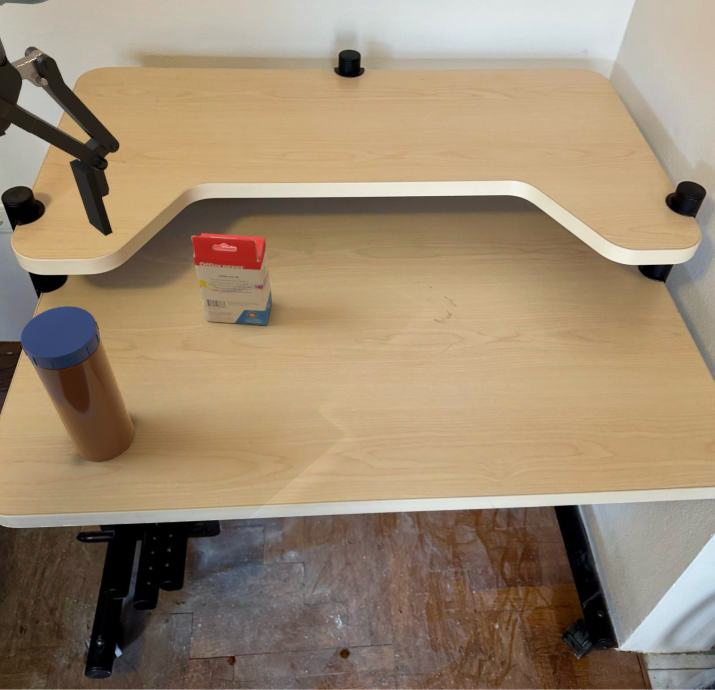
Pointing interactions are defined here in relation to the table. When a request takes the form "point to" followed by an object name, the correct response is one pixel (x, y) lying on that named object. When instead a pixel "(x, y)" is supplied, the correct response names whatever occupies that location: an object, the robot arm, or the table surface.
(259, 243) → the ink box
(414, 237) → the table surface
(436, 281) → the table surface
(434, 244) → the table surface
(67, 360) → the lid
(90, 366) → the jar
